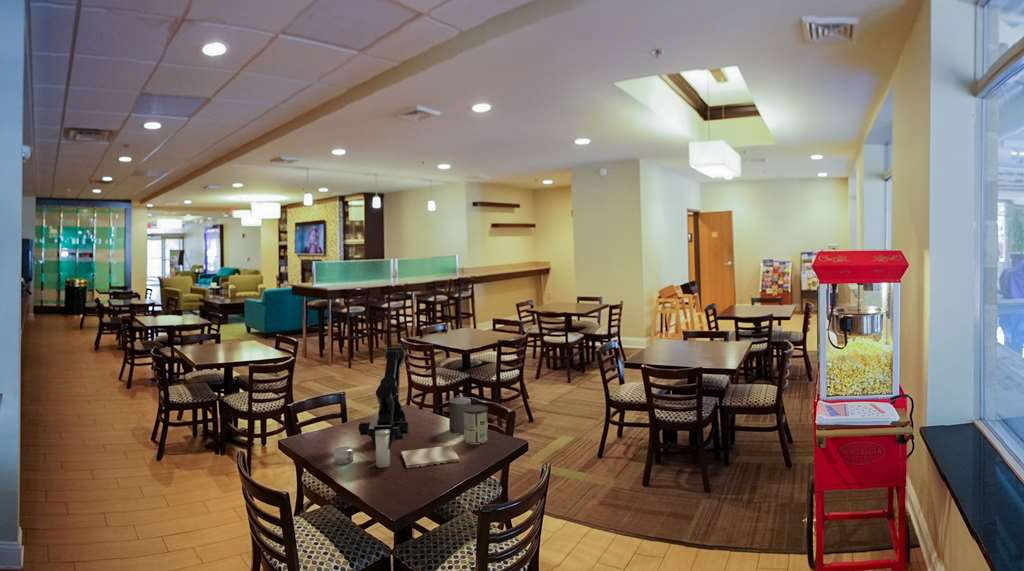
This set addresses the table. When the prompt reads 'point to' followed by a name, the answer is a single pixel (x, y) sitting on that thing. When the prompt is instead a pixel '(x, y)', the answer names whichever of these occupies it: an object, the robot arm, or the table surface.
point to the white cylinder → (382, 447)
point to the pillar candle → (457, 414)
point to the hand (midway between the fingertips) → (382, 449)
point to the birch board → (429, 456)
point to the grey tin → (343, 455)
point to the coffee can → (475, 424)
